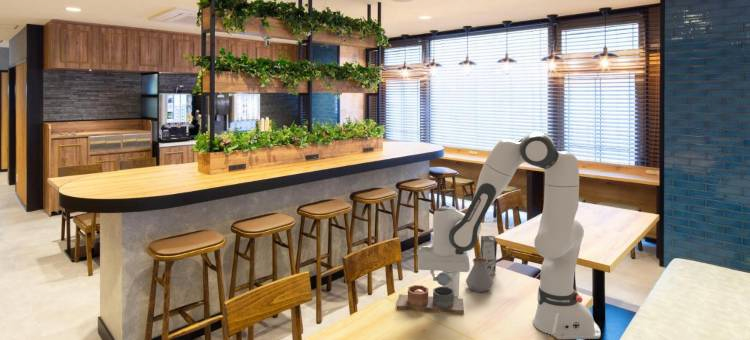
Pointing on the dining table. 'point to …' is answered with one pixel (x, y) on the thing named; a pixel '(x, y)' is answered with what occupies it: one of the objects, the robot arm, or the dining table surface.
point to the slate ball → (443, 278)
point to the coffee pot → (481, 275)
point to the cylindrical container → (455, 283)
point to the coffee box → (489, 252)
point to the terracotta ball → (418, 291)
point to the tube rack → (431, 300)
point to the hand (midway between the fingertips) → (443, 280)
